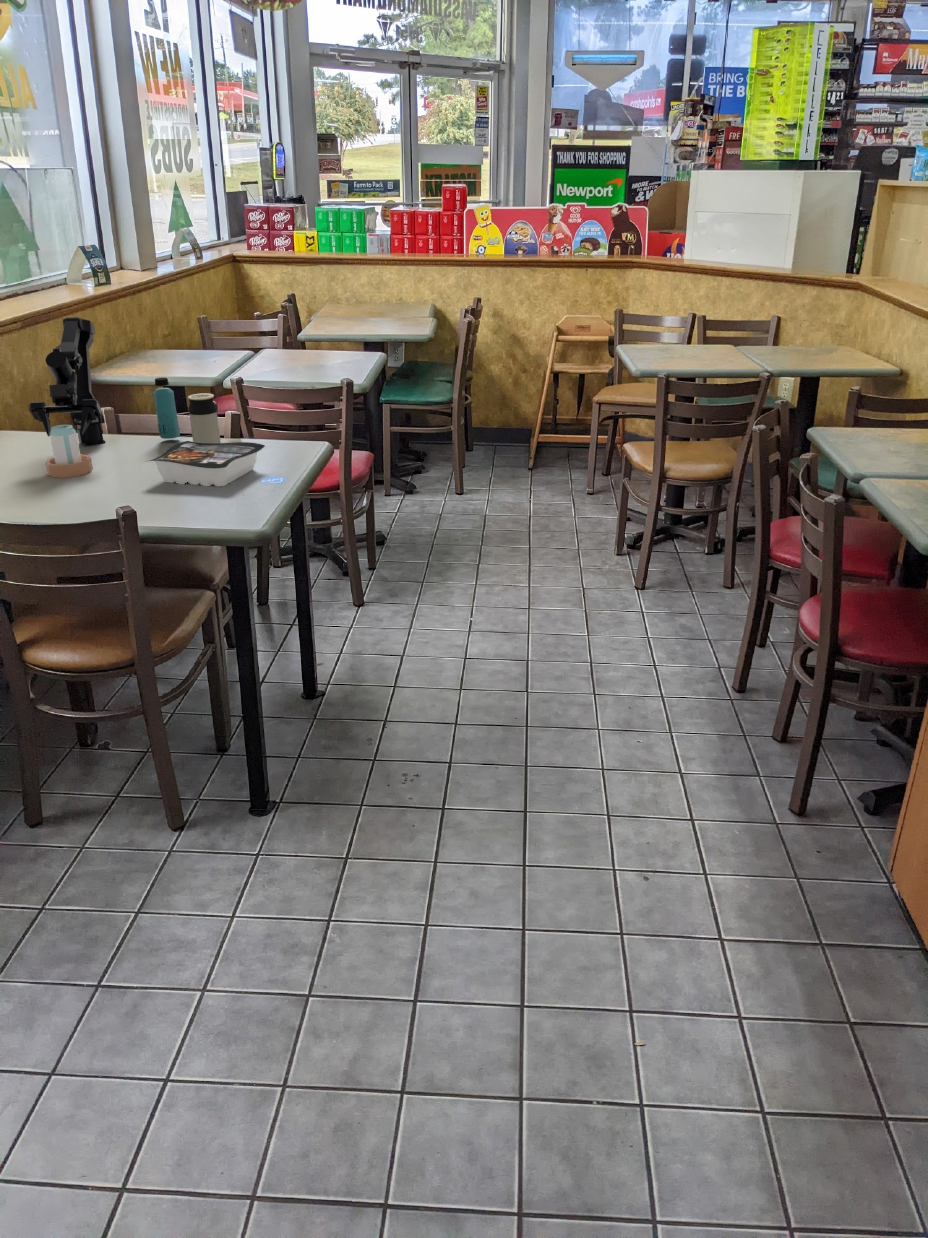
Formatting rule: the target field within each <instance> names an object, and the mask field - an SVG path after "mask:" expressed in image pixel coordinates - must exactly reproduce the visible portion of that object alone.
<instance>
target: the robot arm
mask: <svg viewBox="0 0 928 1238" xmlns="http://www.w3.org/2000/svg"><path fill="white" fill-rule="evenodd" d="M95 327H96V326H95V325H94V322H92V321H91V320H90V319H85V318H82V317H79V316H70V317H69V316H68V317H67V316H66V317H65V318H63V319H62V329H63V330H62V335H61V339H60V344H59V345H57V346H56V347H54V348H52V352H50V353H49V354H47V356H46V357H45V364H46V365H47V367H48V370H49V371H50V373H51V375H52V376H53V378H55V384H50V385H49V386H48V389H49V397H50V398H51V401H52V404H54V405H46V403H45V401H43V400H42V401H31V402H29V404H28V411H29V412H30V414H31V415H32V417H33V418H34V420H36V421H39V422H41V423H42V424H43V427H44V429H45V433H46V436H47V437H48V438H49V437H50V432H51V420H50V414H57V413H58V414H59V413H65V414H66V413H70V416H71V420H72V424H73V426H74V427H76V426H78V428H77V429H76V433H77V439H78V443H80V444H82V445H83V446H85V447H86V446H92V445H98V444H105V443H106V440H105V439H104V437H103V436H104V435H103V429H102V424H105V423H106V421H105V415H104V414H103V409H102V408H101V405H100V403H99V401H98V400H97V399H96V397H94V395H93V393H92V378H91V376H92V375H91V363H90V361H91V360H90V348H91V347H92V346H93V344H94V341H95V340H94V337H95V334H96V328H95Z"/></svg>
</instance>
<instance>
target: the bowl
mask: <svg viewBox="0 0 928 1238" xmlns="http://www.w3.org/2000/svg"><path fill="white" fill-rule="evenodd" d="M80 455H81V460H82V461H81V462H78V463H72V464H61V465H58V464H56V463H55V458H54V456H53V457H51V458H48V459H47V460H46V461H45V462H44V463H45V468H46V469H45V470H46V473H47V475H48V476H50V477H52V478H53V477H54V478H58V479H60V478H62V479H63V478H73V477H77V476H83V475H86V474H88V473H91V472H92V471H93V469H94V466H93V462H92V457H91V456H90V455H88V454H82V453H80Z"/></svg>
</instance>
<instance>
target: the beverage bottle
mask: <svg viewBox="0 0 928 1238" xmlns="http://www.w3.org/2000/svg"><path fill="white" fill-rule="evenodd" d="M169 385H170V383H169V378H167V377H163V376H162V377H157V378H155V379H154V386H155V387H160V388H156V389H155V390H154V391H153V393H152V395H153V400H154V407H155V412H156V413H155V414H156V418H157V419H156V421H157V428H158V429H157V430H158V434H159V437H160V438H161V439H163V440H169V439H176V438H179V437H180V436H181V433H180V432H181V431H180V427H179V419H178V413H177V407H176V400H175V395H174V392H175V391H174V390H172V389H171V388H169V387H165V386H169Z"/></svg>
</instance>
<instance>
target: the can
mask: <svg viewBox="0 0 928 1238" xmlns="http://www.w3.org/2000/svg"><path fill="white" fill-rule="evenodd" d="M73 426H74V425H72V424H57V425H54V426H50V436H49V437H50V443H51V447H52V452H53V457H54V458H55V463H56V464H58V465H61V464H72V463H78V462H81V461H82V460H81V455H80V454H81V452H80V446H79V438H78V433H77V430H76V429H75V428H74V427H73Z"/></svg>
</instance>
